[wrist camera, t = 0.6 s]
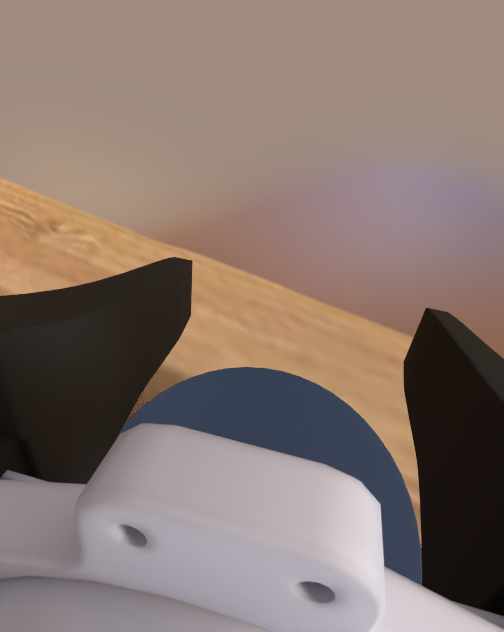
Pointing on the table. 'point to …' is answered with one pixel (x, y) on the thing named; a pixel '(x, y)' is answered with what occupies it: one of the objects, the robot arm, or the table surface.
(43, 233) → the table surface
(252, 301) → the table surface
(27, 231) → the table surface
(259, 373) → the lid
